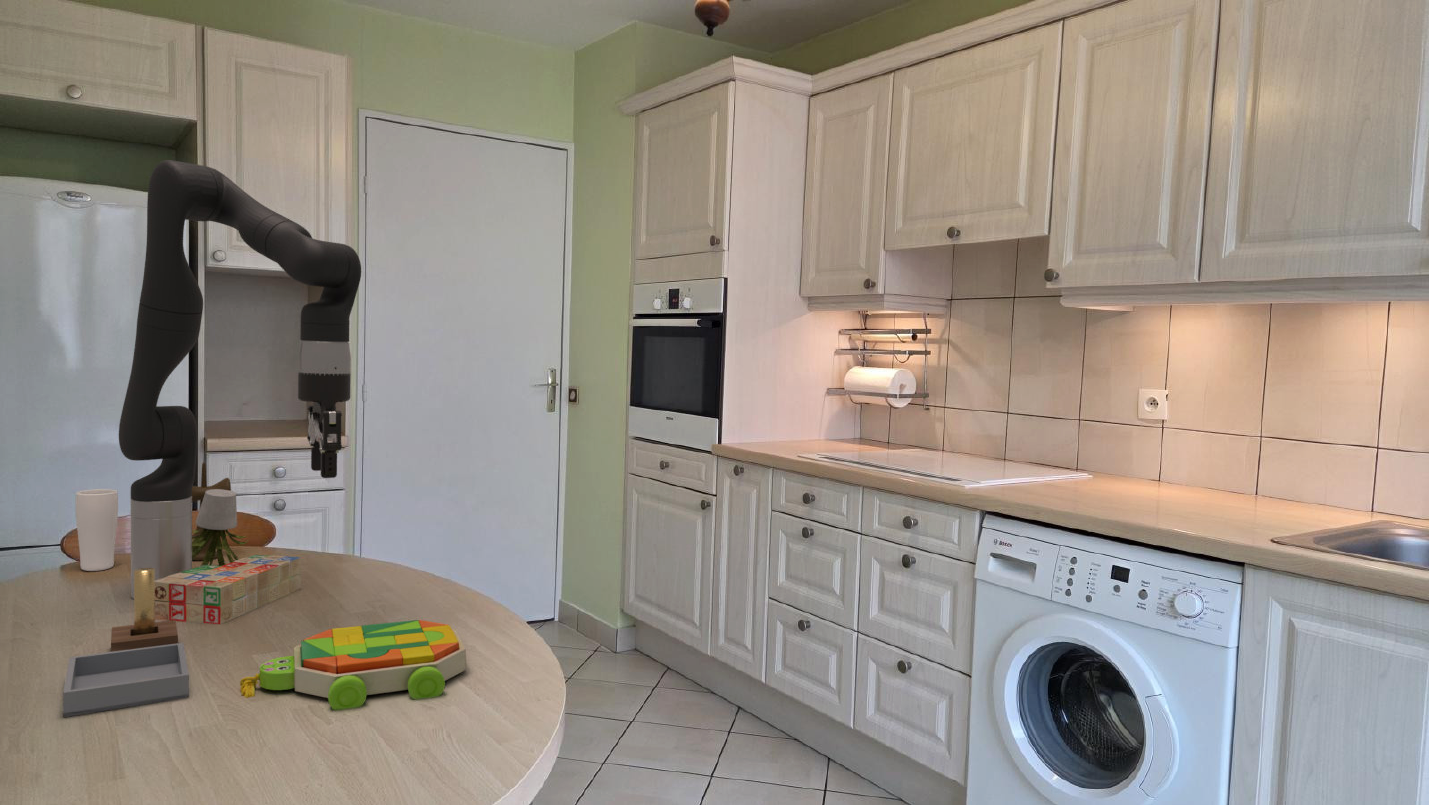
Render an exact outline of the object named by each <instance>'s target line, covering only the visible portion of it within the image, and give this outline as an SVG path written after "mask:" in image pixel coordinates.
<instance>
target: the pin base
mask: <svg viewBox="0 0 1429 805" xmlns="http://www.w3.org/2000/svg"><path fill="white" fill-rule="evenodd" d="M178 635H179V634H178V629H177V621H175V620H171V621H170V620H162V621H155V633H153V634H144V635H136V636H134V624H129V625H128V624H127V625H118V626H112V627H111V633H110V652H114V651H122V650H130V649H138V648H145V647H153V646H161V645H169V644H177V643H179V637H178Z"/></svg>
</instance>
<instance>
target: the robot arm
mask: <svg viewBox="0 0 1429 805" xmlns="http://www.w3.org/2000/svg"><path fill="white" fill-rule="evenodd" d="M146 203H147V206H146V208H147V211H146V212H147V214H146V218H147V219H146V247H145V249H146V250H145V260H144V261H145V262H144V269H143V270H144V271H143V277H142V278H143V279H142V286H141V290H140V297H139V303H138V310H137V311H138V312H137V320H136V330H135V341H134V350H133V358H132V365H131V370H130V371H131V372H130V375H129V378H128V379H129V380H128V384H127V389H126V392H125V396H124V400H123V405H122V410H121V414H120V419H119V426H118V443H119V444H118V445H119V448H120V451H121V453H122V455H123V456H124V457H125V458H126V459H128V460H131V461H135V462H136V461H152V460H161V462H160V465H159V467H157V468H156V469H155V470H154V471H153V472H151V473H149V474H147V475H146V476H144V477H141V478H139V479H137V480H135V481H133V482H132V483H131V486H130V598H132V599H133V600H134V570H136V569H140V568H154V569H155V581H156V580H159V579H162V578H165V577H167V576H170V575H174V574H177V573H181V572H183V571H186V570H189V569H193V560H192V542H193V540H192V535H193V532H192V530H193V502H192V487H193V486H194V484H195V479H196V466H197V465H196V463H197V461H196V460H197V449H198V448H197V447H198V425H197V421H196V418H195V415H194V414H193V412H192V411H191V409H189V408H188V407H186V406H183V405H160V406H158V401H159V397H160V394H161V391H162V389H163V386H164V385H165V383H166V381H167V380H168V378H169V376H170V375H172V373H173V372H174V371H175V369H176V368H177V367H178V365H180V364H181V363H182V361H183V360H184V359H185V358H186V357H187V355H189V353H190V352H191V351H192V350H193V348H194V346H195V345H196V343H197V341H198V339H199V337H200V331H201V324H202V317H203V310H204V299H203V298H204V297H203V295H202V291H201V288H200V286H199V284H198V281H197V279H196V277H195V275H194V273H193V271H192V269H191V267H190V265H189V263H188V261H187V258H186V255H185V249H184V234H185V233H184V231H185V222H186V220H187V221H193V222H195V221H196V222H213V223H218V224H220V225H225V226H227V227H230V228H233V229H235V230H236V231H238V233H239V237H241V240H243V242H244V243H245V244H246V245H247V246H248V247H249V248H250V249H252V250H254V251H255V252H257V253H258V254H260V255H262V256H263V257H265V258H267V259H269V260H270V261H272V262H274V263H277V264H278V266H279V267H280V268H281V269H282V270H283V271H284V272H285V273H286V274H287V276H289V277H291V278H292V279H293V280H294V281H296V282H299V283H301V284H303V285H306V286H311V287H319V288H322V287H323V289H322V291H321V294H320V297H319V299H318V300H317V301H313V302H309V303H306V304H304V305H303V307H302V308H301V312H300V330H299V331H300V333H299V334H300V341H299V349H298V359H297V360H298V361H297V362H298V365H297V366H298V367H297V372H298V374H297V379H298V380H297V398H298V400H300V402H308V403H313V404H308V407H307V410H308V412H307V413H308V416H307V417H308V420H307V424H308V427H307V437H306V438H307V441H308V444H309V446H310V447H311V448H310V451H311V452H310V469H311V470H312V471H314V472H318V471H320V477H321V478H322V479H335V478H336V477H337V476H338V454H339V452H340V451H341V450H342V448H343V446H342V416H343V414H342V411H341V410H337V406H336V404H337V403H343V402H344V403H345V402H349V401H350V400H351V377H352V376H351V375H352V374H351V373H352V372H351V371H352V370H351V368H352V363H351V362H352V357H351V356H352V355H351V349H350V318H351V314H352V310H353V307H354V304H355V300H356V296H357V293H358V290H359V287H360V286H359V285H360V282H361V278H362V263H361V259H360V258H359V255H358V253H357V252H356V250H355V249H354V248H352V246H350V245H347V244H344V243H340V242H333V241H324V240H320V239H319V240H318V239H315V238H313V237H312V235H311V232H310V231H308V230H307V229H306V228H305V227H304V226H302V225H301V224H299V223H297V222H295V221H293V220H291V219H289V217H286V216H284V215H282V214H280V213H278V212H277V211H274V210H272V209H271V208H268V207H267V206H265V205H263V204H262V203H260V202H259V201H257V199H256V198H253V197H252V196H251V195H250V194H248V193H247V192H246V191H244V190H243V189H242V188H241V187H239V185H237V184H236V183H235V182H234V181H233V180H231V179H230V178H229V177H228V176H226V175H225V174H224V173H222V172H221V171H219V170H218V169H216V168H213V167H210V166H207V165H206V166H205V165H201V164H196V163H189V162H184V161H178V160H171V159H165V160H162V161H160V162H159V163H157V164H156V165H155V167H154V168H153V170H152V172H151V175H150V177H149V180H148V189H147V202H146Z"/></svg>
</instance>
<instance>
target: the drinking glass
mask: <svg viewBox="0 0 1429 805" xmlns="http://www.w3.org/2000/svg"><path fill="white" fill-rule="evenodd" d="M118 514H119V497H118V490H116V489H111V488H97V489H95V488H94V489H85V490H84V489H83V490H79V491H77V492H75V519H76V520H75V521H76V530H77V539H78V548H79V557H80V562H79V563H80V569H81V570H82V571H87V572H98V571H104V570H105V571H106V570H109V569H111V568H113V566H114V565H115V563H114V562H115V546H116V544H115V543H116V536H117V525H118Z"/></svg>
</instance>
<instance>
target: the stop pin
mask: <svg viewBox="0 0 1429 805" xmlns="http://www.w3.org/2000/svg"><path fill="white" fill-rule="evenodd" d="M133 605H134V606H133V609H134V610H133V623H134V624H133V625H134V636H136V635H144V634H153V633H155V622H156V619H155V569H154V568H140V569H136V570H134V599H133Z"/></svg>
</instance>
